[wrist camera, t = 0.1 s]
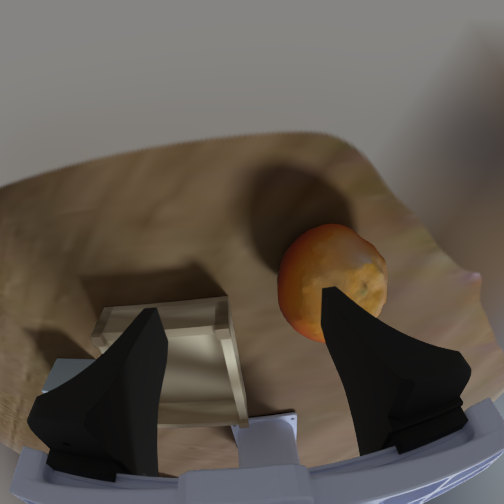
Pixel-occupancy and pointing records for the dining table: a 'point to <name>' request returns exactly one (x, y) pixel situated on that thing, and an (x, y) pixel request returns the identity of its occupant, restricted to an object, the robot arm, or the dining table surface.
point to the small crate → (65, 371)
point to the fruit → (329, 276)
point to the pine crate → (190, 361)
